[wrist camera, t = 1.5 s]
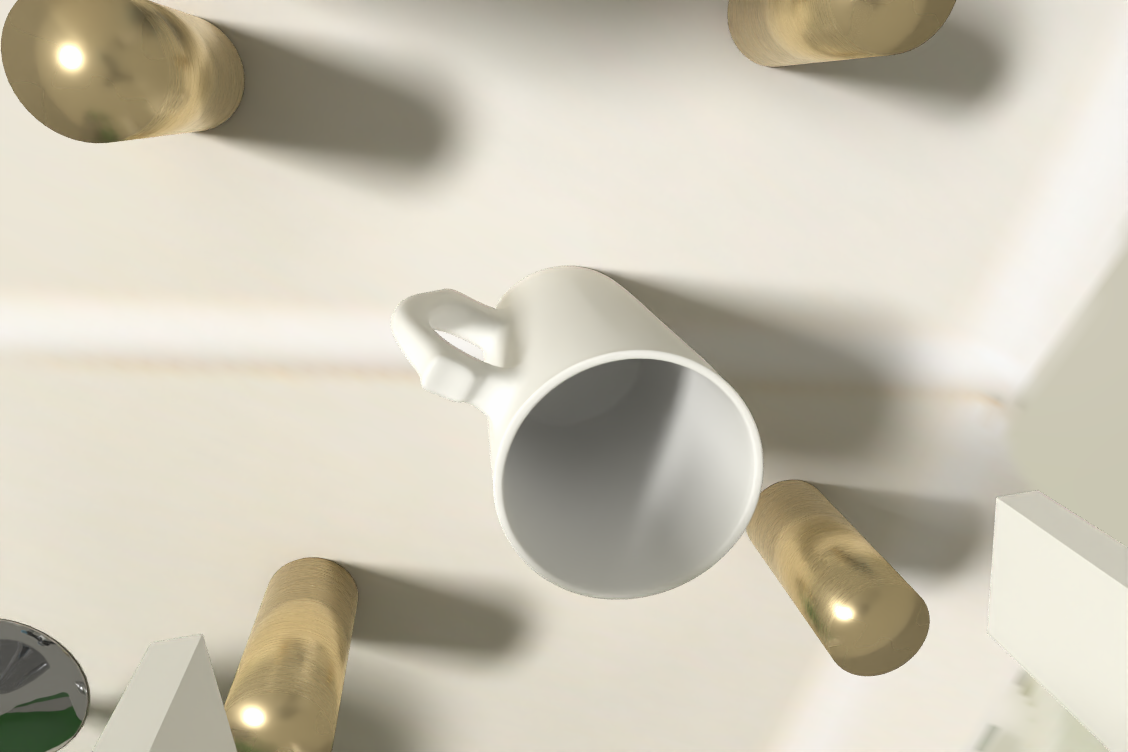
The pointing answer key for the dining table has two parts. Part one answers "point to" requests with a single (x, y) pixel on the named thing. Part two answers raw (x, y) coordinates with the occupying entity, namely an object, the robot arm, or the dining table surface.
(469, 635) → the dining table surface
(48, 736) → the wine glass
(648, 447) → the mug
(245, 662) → the spacer posts
